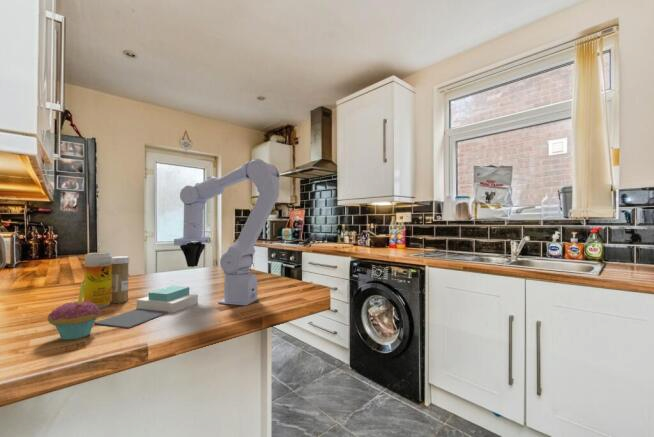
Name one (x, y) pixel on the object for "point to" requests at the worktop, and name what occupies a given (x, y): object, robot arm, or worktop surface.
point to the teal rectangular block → (168, 293)
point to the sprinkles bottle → (119, 279)
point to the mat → (131, 318)
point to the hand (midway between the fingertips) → (192, 266)
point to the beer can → (98, 278)
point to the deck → (168, 303)
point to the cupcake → (75, 317)
